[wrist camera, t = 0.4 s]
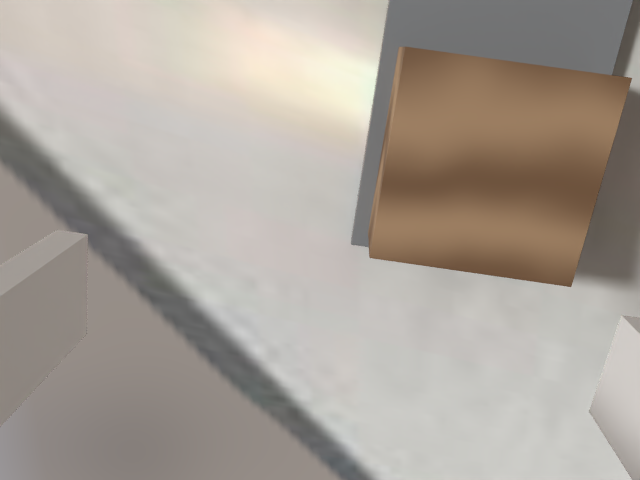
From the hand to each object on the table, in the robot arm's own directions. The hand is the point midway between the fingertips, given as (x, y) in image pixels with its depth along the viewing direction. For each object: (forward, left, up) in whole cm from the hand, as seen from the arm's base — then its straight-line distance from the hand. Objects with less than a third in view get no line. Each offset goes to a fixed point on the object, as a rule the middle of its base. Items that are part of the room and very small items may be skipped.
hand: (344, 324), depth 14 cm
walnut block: (-1, +8, -25) cm, 26 cm away
